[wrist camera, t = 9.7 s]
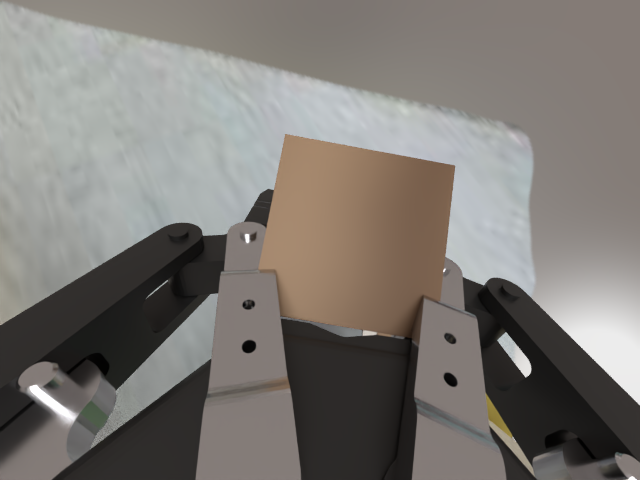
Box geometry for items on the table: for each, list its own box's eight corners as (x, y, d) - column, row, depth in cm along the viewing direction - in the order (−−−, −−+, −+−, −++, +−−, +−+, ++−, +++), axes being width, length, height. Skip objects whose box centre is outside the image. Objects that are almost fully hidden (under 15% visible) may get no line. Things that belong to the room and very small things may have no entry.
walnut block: (286, 285, 16) (249, 310, 6) (299, 216, 16) (285, 134, 7) (357, 297, 16) (435, 342, 6) (367, 228, 17) (455, 165, 7)
